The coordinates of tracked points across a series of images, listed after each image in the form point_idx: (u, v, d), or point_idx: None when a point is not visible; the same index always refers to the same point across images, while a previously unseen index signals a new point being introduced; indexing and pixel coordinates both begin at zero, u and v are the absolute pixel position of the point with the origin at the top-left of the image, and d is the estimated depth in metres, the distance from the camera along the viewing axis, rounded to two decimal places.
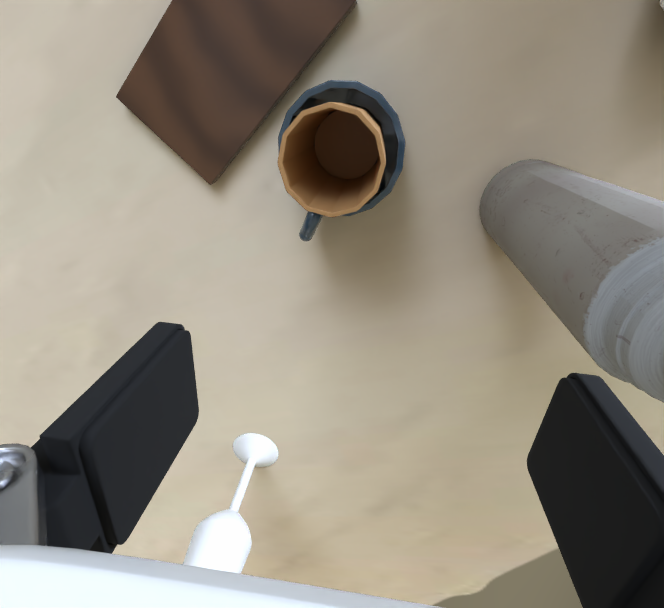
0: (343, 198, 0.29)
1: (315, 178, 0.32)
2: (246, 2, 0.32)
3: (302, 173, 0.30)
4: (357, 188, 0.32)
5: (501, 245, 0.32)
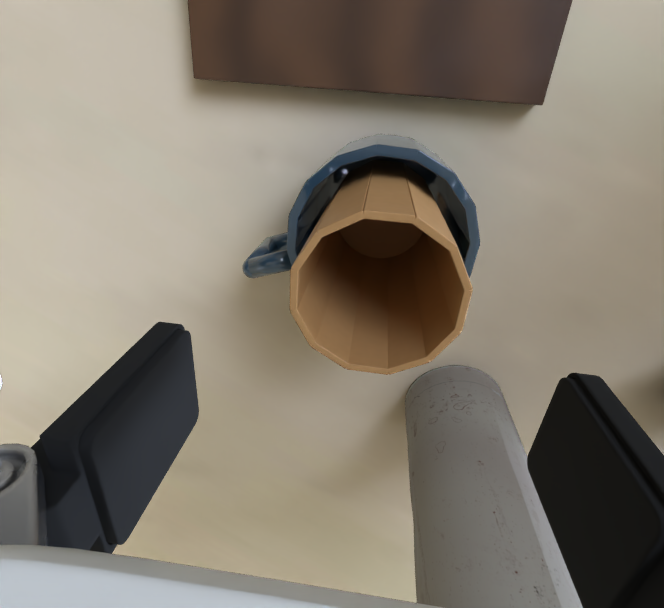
0: (336, 303, 0.19)
1: None
2: None
3: None
4: (355, 290, 0.22)
5: (416, 455, 0.26)
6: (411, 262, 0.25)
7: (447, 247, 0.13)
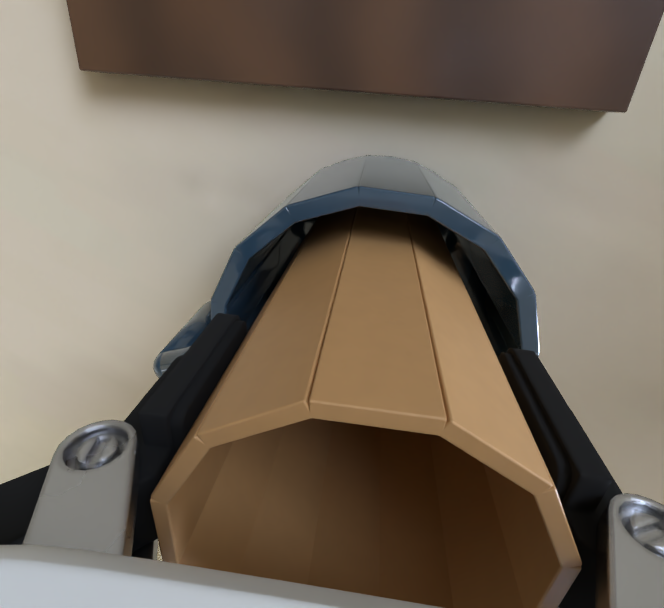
0: (290, 456, 0.11)
1: None
2: None
3: None
4: None
5: None
6: None
7: (529, 489, 0.05)
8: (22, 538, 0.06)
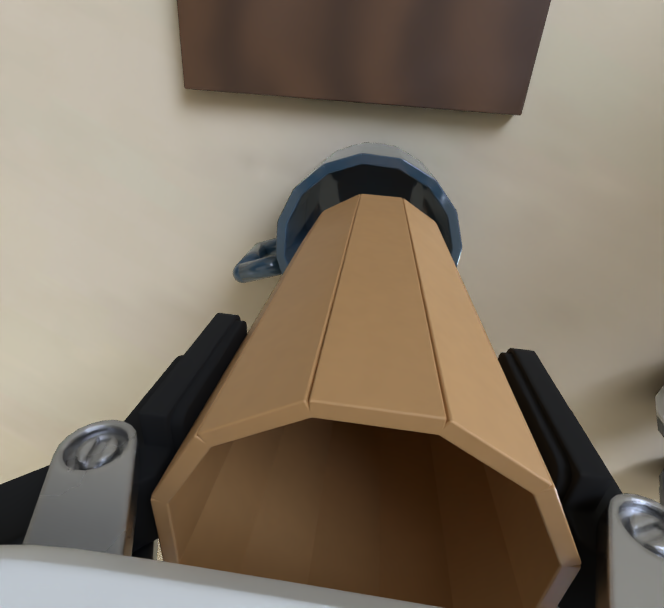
0: (290, 456, 0.11)
1: None
2: None
3: None
4: None
5: None
6: None
7: (528, 488, 0.05)
8: (22, 538, 0.06)
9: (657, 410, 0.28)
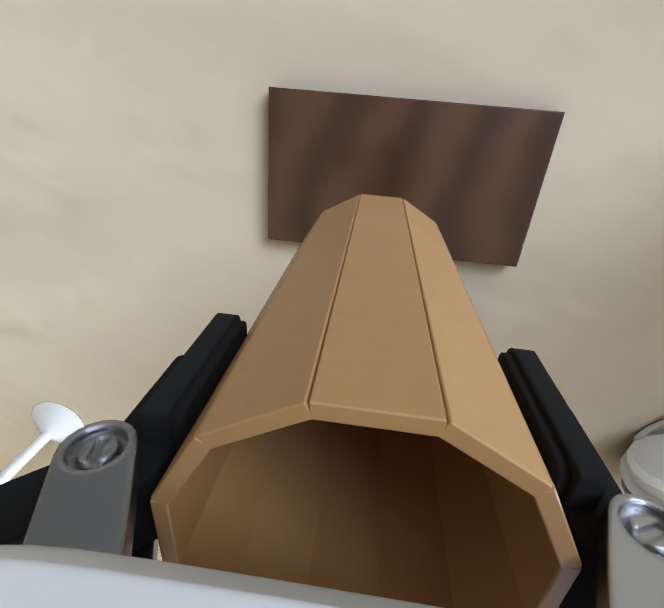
0: (290, 457, 0.11)
1: None
2: (455, 176, 0.29)
3: None
4: None
5: None
6: None
7: (529, 490, 0.05)
8: (22, 538, 0.06)
9: (620, 471, 0.37)
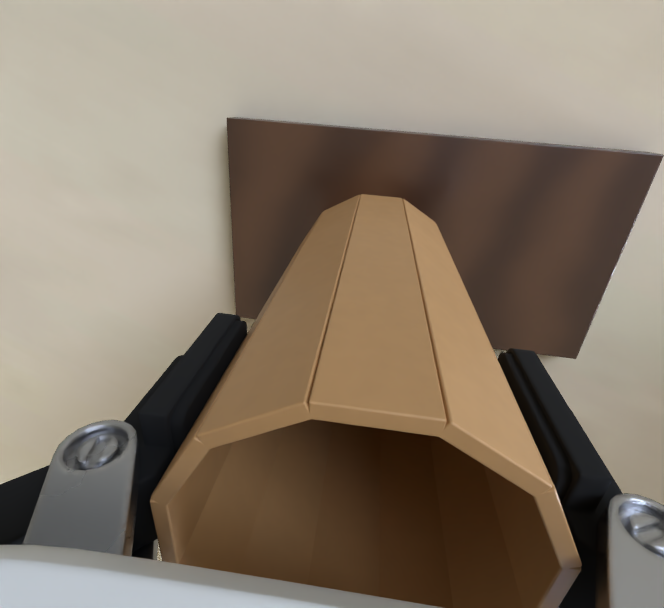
0: (290, 457, 0.11)
1: None
2: (494, 241, 0.20)
3: None
4: None
5: None
6: None
7: (529, 490, 0.05)
8: (22, 538, 0.06)
9: None
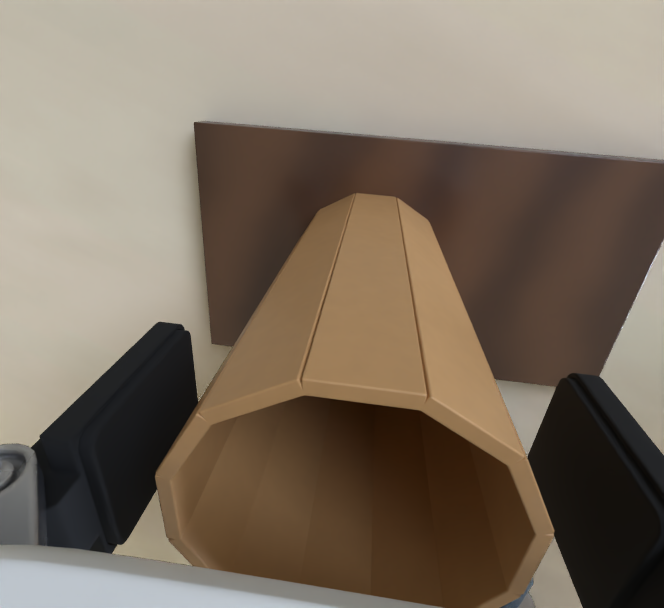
0: (287, 444, 0.12)
1: None
2: (502, 262, 0.18)
3: None
4: (324, 399, 0.14)
5: None
6: None
7: (503, 460, 0.06)
8: None
9: None
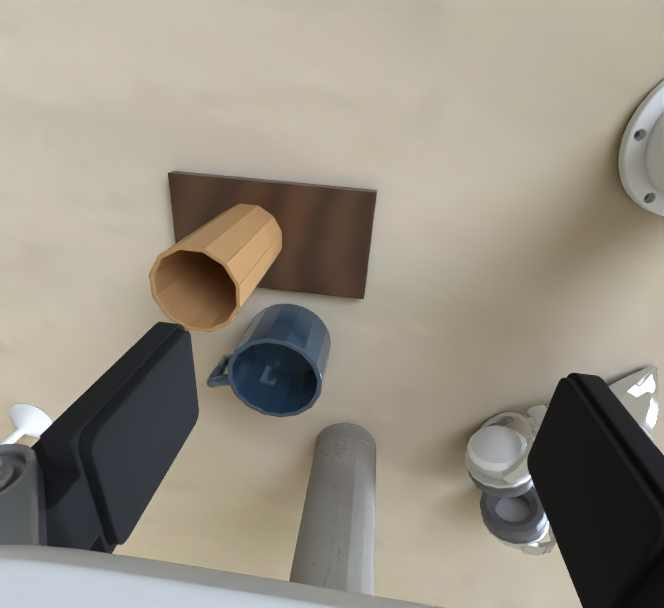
0: (197, 294, 0.33)
1: (197, 251, 0.35)
2: (308, 234, 0.39)
3: (184, 251, 0.32)
4: (218, 287, 0.35)
5: (309, 481, 0.46)
6: None
7: (221, 263, 0.27)
8: None
9: (465, 455, 0.47)
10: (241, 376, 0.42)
